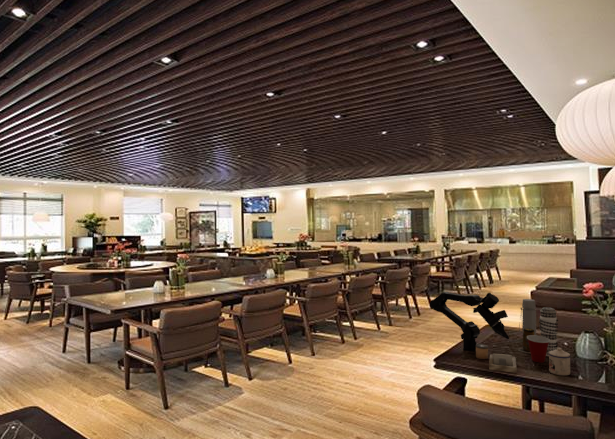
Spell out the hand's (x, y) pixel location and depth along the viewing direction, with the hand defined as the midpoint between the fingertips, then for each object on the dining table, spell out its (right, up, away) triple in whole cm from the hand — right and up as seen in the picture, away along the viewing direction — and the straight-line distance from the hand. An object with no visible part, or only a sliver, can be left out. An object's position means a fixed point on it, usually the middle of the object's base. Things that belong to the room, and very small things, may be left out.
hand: (507, 337), depth 228 cm
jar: (-12, -11, +3) cm, 17 cm away
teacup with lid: (+15, -11, -23) cm, 29 cm away
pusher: (-8, -11, -11) cm, 17 cm away
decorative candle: (+26, -11, +7) cm, 29 cm away
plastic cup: (+14, -11, -4) cm, 19 cm away
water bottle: (+27, -12, +33) cm, 44 cm away
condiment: (+18, -12, +14) cm, 26 cm away
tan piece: (-7, -11, -10) cm, 17 cm away
